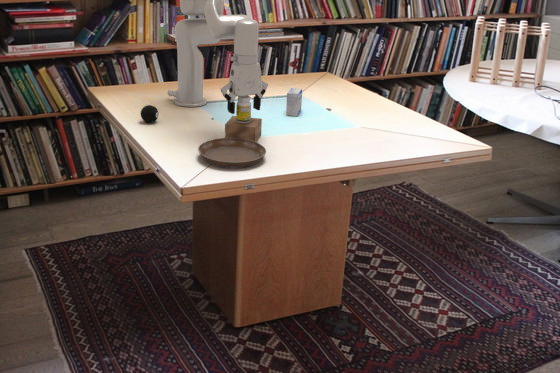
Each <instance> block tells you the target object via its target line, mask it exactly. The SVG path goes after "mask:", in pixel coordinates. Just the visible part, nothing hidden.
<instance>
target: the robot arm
mask: <svg viewBox="0 0 560 373" xmlns="http://www.w3.org/2000/svg"><path fill="white" fill-rule="evenodd" d="M179 8H180V11H181V13H182V14H183V15H185V16H188V17H189V16H190V17H195V18H183V19H179V21H177V22H176V23H175V26H174V36H175V41H176V50H177V89H176V90H173V89H167V95H168V96H169V97H174V99H173V103H174V105H177V106H179V107H184V108H185V107H186V108H187V107H188V108H197V107H202V106H205V105H206V104H208V98H206V97H204V56H203V53H202V52H201V50H200V49H199V48H198V46H202V45H213V44H217V43H219V42H220V41H221V40H233V42H234V43H233V56H230V61H231V62H232V63H231V67H230V72H229V78H228V79H229V81H228V83H227V84H225V85H224V86H222V87H220V92H221V94H222V97H223V98H224V99H225V100H226V101H227V112H228V113H229V114H232V115H234V114H235V113H236V102H235V100H236V99H237V98H238V96H253V98H252V99H253V102H252V104H253V105H252V108H253V109H255V110H256V111H260V110H261V103H262V98H263V97H264V95H265V93H266V92H267V89H268V86H269V83H267V82H265V81H264V80H262V78H263V77H262V71H261V70H262V69H261V65H260V62H258V57H259V56H258V54H259V53H258V52H259V29H260V28H259V22H258V20H255V19H252V18H251V17H250V15H246V14H224V8H225V4H224V0H179ZM198 16H199V17H201V16H204V17H203V18H199V17H198ZM196 17H198V18H196ZM228 91H229V93H228Z"/></svg>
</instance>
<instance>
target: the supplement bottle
mask: <svg viewBox="0 0 560 373" xmlns="http://www.w3.org/2000/svg"><path fill="white" fill-rule="evenodd" d="M251 112H252V103H251V95H248V96H237V102H236V107H235V113H236V115H235V116H236V121H237V122H239V123H249V122H250V121H251V118H252V115H251V114H252V113H251Z"/></svg>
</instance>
